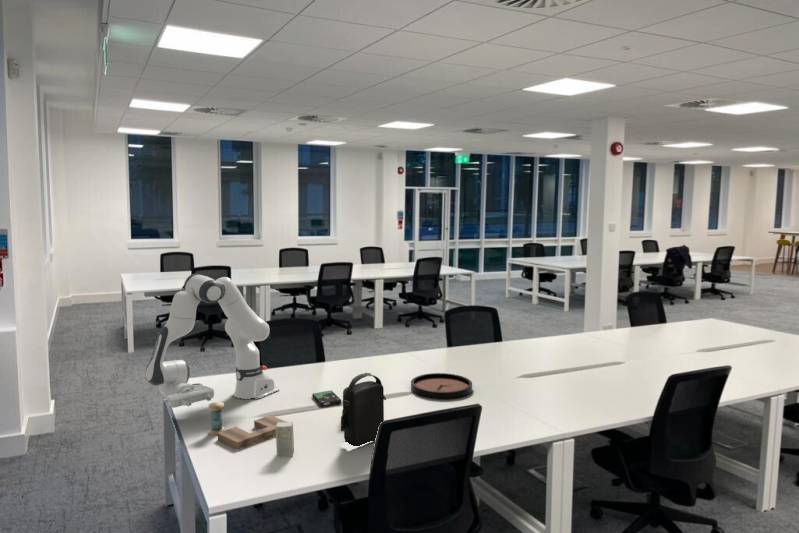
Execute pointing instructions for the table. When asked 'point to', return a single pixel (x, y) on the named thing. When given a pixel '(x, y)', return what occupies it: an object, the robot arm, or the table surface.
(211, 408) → the bobbin
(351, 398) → the shoulder bag
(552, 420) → the table surface
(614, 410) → the table surface
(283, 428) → the skincare box
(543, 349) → the table surface
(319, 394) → the disk drive
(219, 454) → the table surface
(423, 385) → the wall clock
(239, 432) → the notched board
